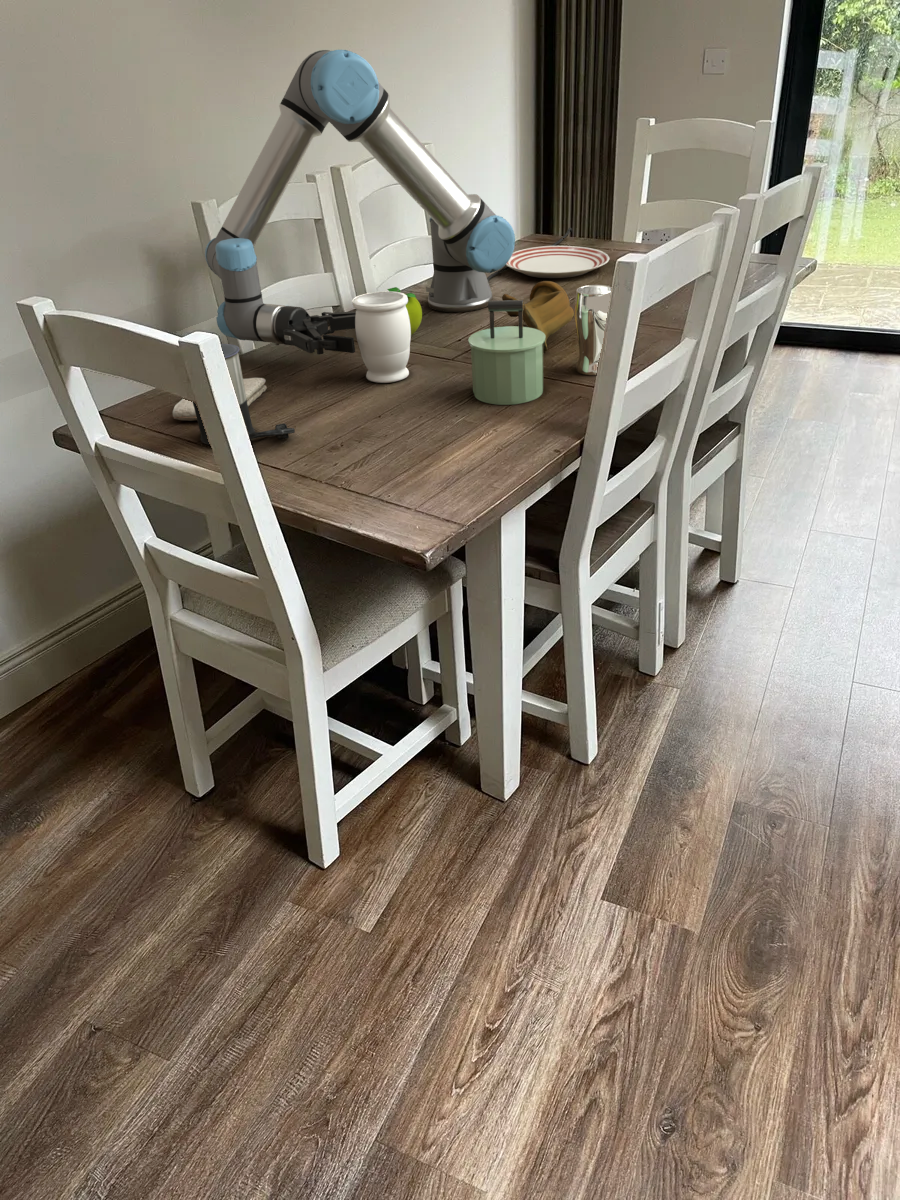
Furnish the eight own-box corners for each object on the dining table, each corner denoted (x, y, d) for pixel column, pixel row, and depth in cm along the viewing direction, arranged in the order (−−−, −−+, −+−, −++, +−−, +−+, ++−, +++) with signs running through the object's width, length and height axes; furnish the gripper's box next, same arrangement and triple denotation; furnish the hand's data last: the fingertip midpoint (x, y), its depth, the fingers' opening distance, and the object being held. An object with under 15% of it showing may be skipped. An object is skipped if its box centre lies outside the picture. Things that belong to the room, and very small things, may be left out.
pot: (478, 380, 174) (476, 330, 169) (545, 380, 172) (545, 329, 167) (469, 404, 164) (466, 352, 159) (540, 404, 162) (539, 351, 157)
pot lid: (474, 332, 170) (472, 291, 166) (548, 331, 168) (548, 289, 164) (463, 356, 159) (460, 312, 155) (542, 355, 157) (542, 311, 153)
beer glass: (589, 361, 179) (591, 282, 171) (618, 368, 175) (622, 287, 167) (566, 371, 176) (567, 290, 167) (596, 378, 171) (598, 296, 163)
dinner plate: (629, 264, 242) (630, 251, 240) (565, 288, 226) (565, 274, 224) (547, 253, 259) (547, 241, 257) (482, 275, 243) (481, 262, 241)
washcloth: (269, 388, 178) (267, 373, 176) (235, 424, 163) (232, 407, 161) (211, 388, 180) (208, 373, 178) (173, 424, 165) (169, 407, 163)
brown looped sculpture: (459, 312, 188) (523, 269, 199) (483, 371, 193) (544, 326, 205) (525, 295, 174) (590, 251, 185) (549, 359, 179) (610, 312, 191)
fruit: (408, 327, 206) (404, 281, 201) (430, 336, 200) (427, 289, 194) (372, 336, 202) (367, 290, 197) (394, 346, 196) (389, 298, 190)
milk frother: (201, 430, 162) (182, 346, 154) (291, 417, 164) (277, 334, 156) (201, 462, 150) (181, 373, 142) (298, 448, 152) (284, 359, 144)
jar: (354, 373, 182) (344, 296, 174) (402, 364, 185) (396, 287, 177) (371, 389, 174) (362, 308, 166) (422, 379, 177) (416, 299, 169)
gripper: (324, 326, 197) (409, 335, 187) (248, 362, 179) (338, 374, 169) (319, 290, 193) (405, 297, 183) (241, 323, 175) (333, 334, 165)
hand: (373, 334), depth 176 cm, fingers open, 13 cm apart
